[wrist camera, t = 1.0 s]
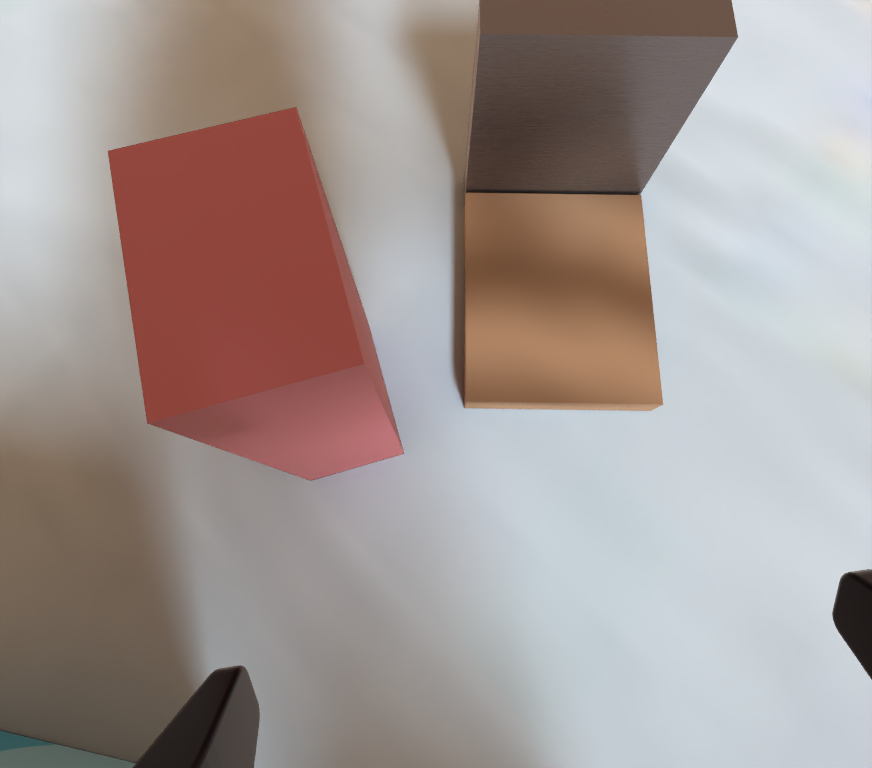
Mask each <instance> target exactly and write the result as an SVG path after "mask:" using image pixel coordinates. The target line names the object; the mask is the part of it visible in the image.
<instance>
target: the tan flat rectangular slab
mask: <svg viewBox="0 0 872 768" xmlns="http://www.w3.org/2000/svg"><path fill="white" fill-rule="evenodd" d="M661 405H663V400H662V390H661V381H660V371H659V362H658V352H657V343H656V333H655V323H654V314H653V304H652V295H651V285H650V276H649V266H648V257H647V247H646V238H645V228H644V218H643V209H642V199H641V195H599V194H525V193H466V196H465V207H464V408H496V409H566V410H636V411H651V410H653V409H655V408H657V407H659V406H661Z"/></svg>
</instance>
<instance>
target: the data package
mask: <svg viewBox="0 0 872 768" xmlns="http://www.w3.org/2000/svg"><path fill="white" fill-rule="evenodd" d="M135 764H136V763H133V762H129V761H124V760H120V759H116V758H112V757H108V756H104V755H99V754H95V753H91V752H87V751H83V750H79V749H75V748H70V747H66V746H62V745H58V744H54V743H50V742H45V741H41V740H37V739H33V738H29V737H25V736H20V735H16V734H12V733H8V732H4V731H0V768H132V767H133V766H134V765H135Z"/></svg>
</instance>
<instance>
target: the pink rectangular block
mask: <svg viewBox="0 0 872 768" xmlns="http://www.w3.org/2000/svg"><path fill="white" fill-rule="evenodd" d="M108 155H109V162H110V169H111V176H112V183H113V190H114V196H115V203H116V210H117V217H118V224H119V231H120V238H121V245H122V252H123V259H124V266H125V273H126V280H127V286H128V293H129V300H130V307H131V314H132V321H133V328H134V335H135V342H136V349H137V356H138V363H139V369H140V376H141V383H142V390H143V397H144V404H145V411H146V418H147V423H148V424H151V425H154V426H157V427H160V428H162V429H165V430H168V431H171V432H174V433H177V434H180V435H182V436H185V437H188V438H191V439H194V440H197V441H199V442H202V443H205V444H208V445H211V446H214V447H216V448H219V449H222V450H225V451H228V452H231V453H234V454H236V455H239V456H242V457H245V458H248V459H251V460H253V461H256V462H259V463H262V464H265V465H268V466H271V467H273V468H276V469H279V470H282V471H285V472H288V473H290V474H293V475H296V476H299V477H302V478H305V479H307V480H310V481H311V480H314V479H318V478H321V477H325V476H328V475H332V474H335V473H339V472H342V471H346V470H349V469H353V468H356V467H359V466H363V465H366V464H370V463H373V462H377V461H380V460H384V459H387V458H391V457H394V456H398V455H401V454H404V452H403V448H402V445H401V441H400V438H399V434H398V430H397V427H396V423H395V419H394V416H393V412H392V408H391V405H390V401H389V397H388V394H387V390H386V386H385V383H384V379H383V375H382V372H381V368H380V364H379V361H378V357H377V353H376V350H375V346H374V343H373V339H372V335H371V332H370V328H369V324H368V321H367V318H366V315H365V312H364V309H363V306H362V303H361V300H360V297H359V294H358V291H357V288H356V285H355V282H354V279H353V276H352V273H351V270H350V267H349V264H348V261H347V258H346V255H345V252H344V249H343V246H342V243H341V240H340V237H339V234H338V231H337V228H336V225H335V222H334V219H333V216H332V213H331V210H330V207H329V204H328V201H327V198H326V195H325V192H324V189H323V186H322V183H321V180H320V177H319V174H318V171H317V168H316V165H315V162H314V159H313V156H312V153H311V150H310V147H309V144H308V141H307V138H306V135H305V132H304V129H303V126H302V123H301V120H300V117H299V114H298V111H297V108H296V107H295V108H290V109H286V110H282V111H278V112H273V113H269V114H265V115H260V116H256V117H252V118H247V119H243V120H239V121H235V122H230V123H226V124H222V125H217V126H213V127H209V128H204V129H200V130H196V131H192V132H187V133H183V134H179V135H174V136H170V137H166V138H161V139H157V140H153V141H149V142H144V143H140V144H136V145H131V146H127V147H123V148H118V149H114V150H110V151H108Z"/></svg>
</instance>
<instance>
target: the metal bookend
mask: <svg viewBox="0 0 872 768" xmlns="http://www.w3.org/2000/svg"><path fill="white" fill-rule="evenodd" d="M737 38H738V35H737V29H736V23H735V18H734V12H733V7H732V1H731V0H479V12H478V24H477V36H476V47H475V59H474V71H473V83H472V94H471V106H470V118H469V130H468V141H467V153H466V165H465V176H464V206H465V196H466V193H525V194H599V195H640V194H641V192H642V190H643V189H644V187H645V186H646V184H647V182H648V181H649V179H650V178H651V176H652V174H653V173H654V171H655V170H656V168H657V166H658V165H659V163H660V161H661V160H662V158H663V157H664V155H665V153H666V152H667V150H668V149H669V147H670V145H671V144H672V142H673V141H674V139H675V137H676V136H677V134H678V133H679V131H680V129H681V128H682V126H683V125H684V123H685V121H686V120H687V118H688V116H689V115H690V113H691V112H692V110H693V108H694V107H695V105H696V104H697V102H698V100H699V99H700V97H701V96H702V94H703V92H704V91H705V89H706V88H707V86H708V84H709V83H710V81H711V80H712V78H713V76H714V75H715V73H716V71H717V70H718V68H719V67H720V65H721V63H722V62H723V60H724V59H725V57H726V55H727V54H728V52H729V51H730V49H731V47H732V46H733V44H734V43H735V41H736V39H737Z"/></svg>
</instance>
